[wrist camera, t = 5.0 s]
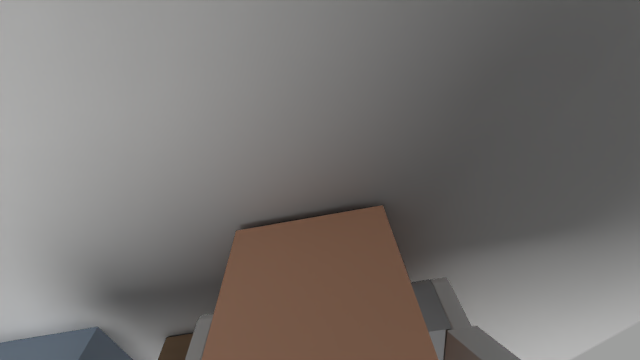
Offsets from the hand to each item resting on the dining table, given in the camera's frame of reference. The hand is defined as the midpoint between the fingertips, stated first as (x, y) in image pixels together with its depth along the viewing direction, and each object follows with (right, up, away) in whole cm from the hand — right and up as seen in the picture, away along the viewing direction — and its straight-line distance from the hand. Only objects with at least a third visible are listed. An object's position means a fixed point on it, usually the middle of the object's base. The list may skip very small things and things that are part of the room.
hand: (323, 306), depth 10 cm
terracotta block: (0, +1, +1) cm, 2 cm away
